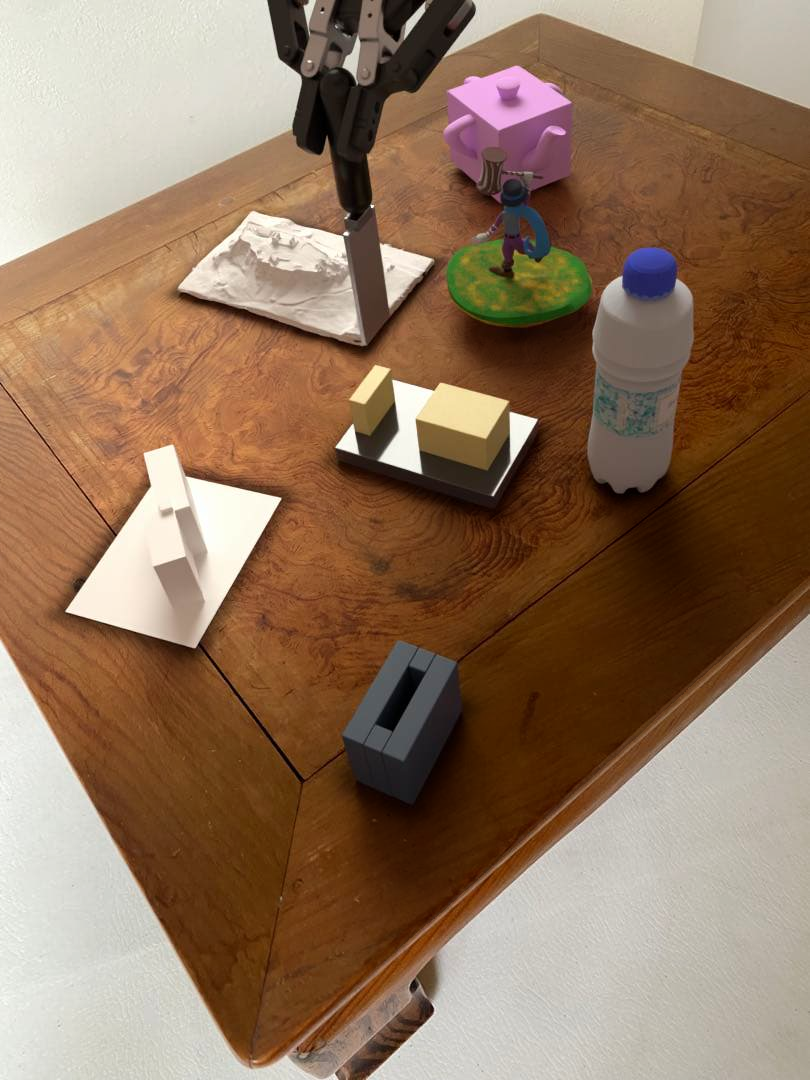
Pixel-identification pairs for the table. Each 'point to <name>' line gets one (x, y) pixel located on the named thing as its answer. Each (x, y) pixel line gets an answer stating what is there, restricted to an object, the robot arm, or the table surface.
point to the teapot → (510, 126)
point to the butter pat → (372, 400)
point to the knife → (355, 211)
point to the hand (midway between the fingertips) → (329, 153)
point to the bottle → (639, 370)
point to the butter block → (463, 425)
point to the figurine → (515, 261)
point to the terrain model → (296, 276)
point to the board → (401, 458)
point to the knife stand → (404, 721)
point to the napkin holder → (175, 554)
